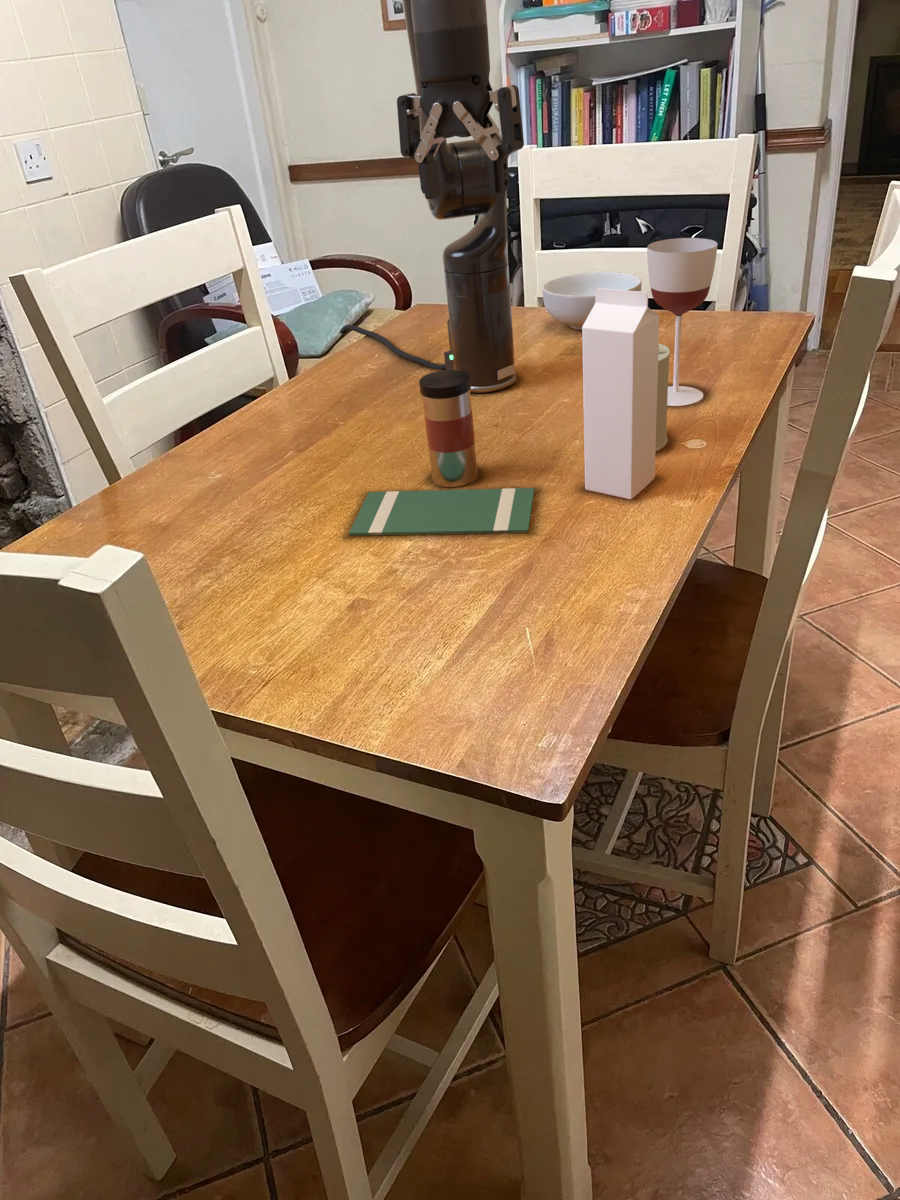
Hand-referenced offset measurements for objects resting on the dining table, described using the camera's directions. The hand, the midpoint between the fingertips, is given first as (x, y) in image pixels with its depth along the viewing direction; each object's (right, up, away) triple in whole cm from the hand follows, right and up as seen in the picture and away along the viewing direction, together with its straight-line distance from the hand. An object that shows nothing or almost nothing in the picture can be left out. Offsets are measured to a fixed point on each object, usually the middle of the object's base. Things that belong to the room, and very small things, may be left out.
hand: (464, 197), depth 97 cm
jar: (-1, -30, +10) cm, 31 cm away
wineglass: (+30, -16, +25) cm, 42 cm away
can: (+21, -25, +14) cm, 35 cm away
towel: (-2, -35, +3) cm, 35 cm away
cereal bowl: (+23, +4, +57) cm, 61 cm away
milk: (+18, -32, +4) cm, 37 cm away
